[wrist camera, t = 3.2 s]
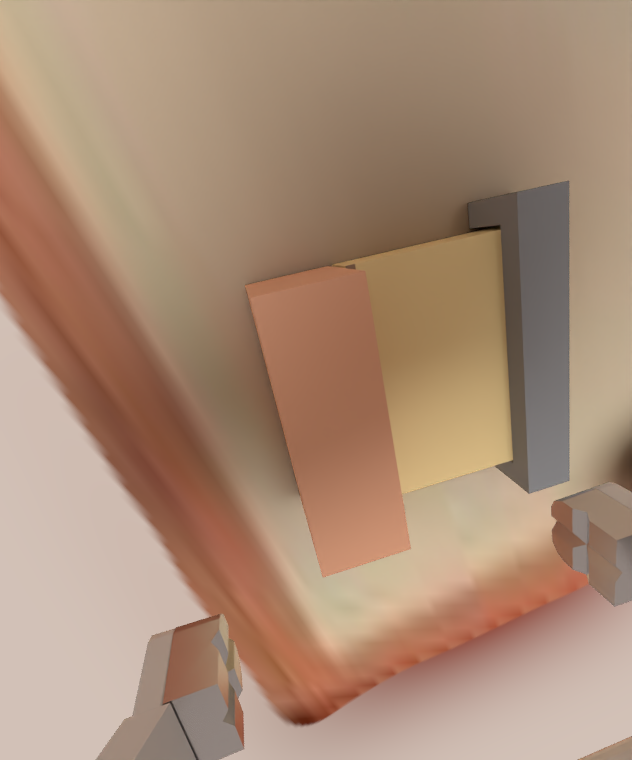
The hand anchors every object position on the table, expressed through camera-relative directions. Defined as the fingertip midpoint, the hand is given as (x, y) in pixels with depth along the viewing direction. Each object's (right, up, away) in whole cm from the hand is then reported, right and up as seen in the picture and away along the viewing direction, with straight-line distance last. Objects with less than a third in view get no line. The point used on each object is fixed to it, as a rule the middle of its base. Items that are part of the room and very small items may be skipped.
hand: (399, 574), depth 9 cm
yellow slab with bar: (+5, +6, +13) cm, 15 cm away
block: (-2, +4, +12) cm, 13 cm away
